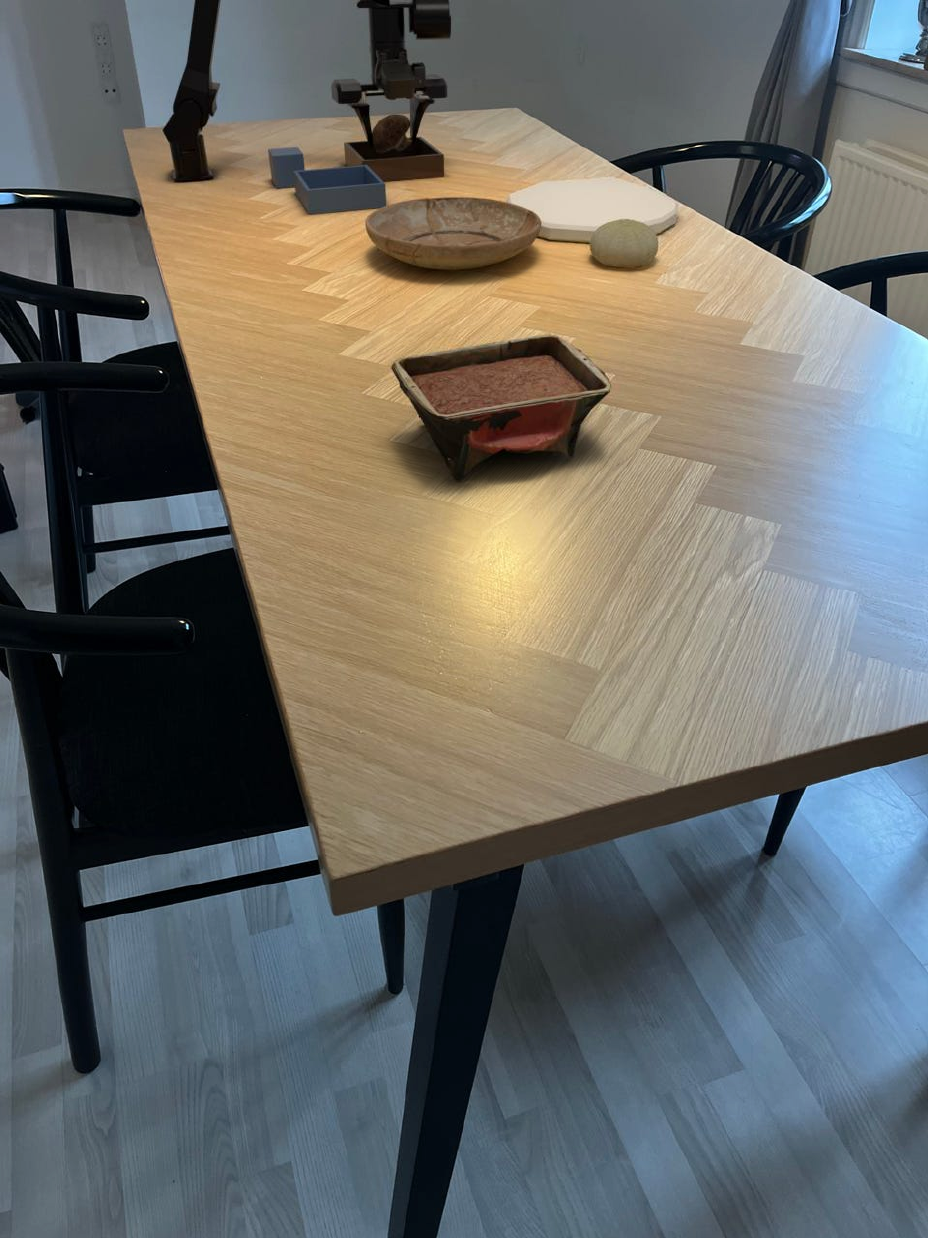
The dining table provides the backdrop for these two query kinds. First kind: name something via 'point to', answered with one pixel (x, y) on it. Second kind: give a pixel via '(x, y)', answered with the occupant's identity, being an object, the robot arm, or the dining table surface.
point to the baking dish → (502, 397)
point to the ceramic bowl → (452, 231)
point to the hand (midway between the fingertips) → (391, 145)
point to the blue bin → (339, 189)
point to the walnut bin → (397, 160)
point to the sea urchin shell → (624, 243)
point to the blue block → (285, 165)
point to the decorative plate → (593, 206)
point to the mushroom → (391, 134)
